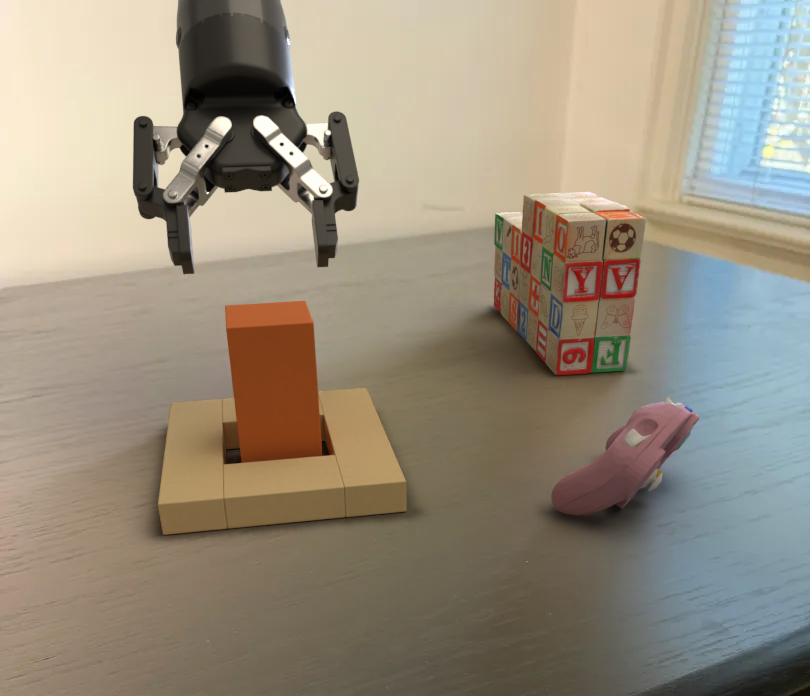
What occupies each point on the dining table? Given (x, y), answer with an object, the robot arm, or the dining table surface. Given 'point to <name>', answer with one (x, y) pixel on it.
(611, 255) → the stack of blocks
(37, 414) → the dining table surface
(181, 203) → the robot arm
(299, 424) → the upright block
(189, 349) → the dining table surface
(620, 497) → the pink curved elongated piece
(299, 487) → the base pad
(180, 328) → the dining table surface
